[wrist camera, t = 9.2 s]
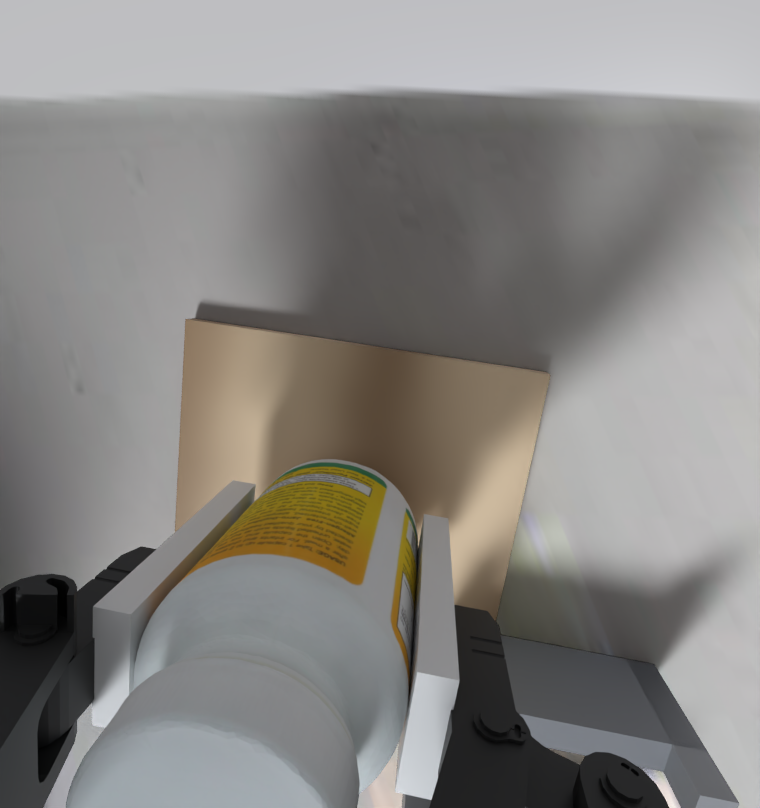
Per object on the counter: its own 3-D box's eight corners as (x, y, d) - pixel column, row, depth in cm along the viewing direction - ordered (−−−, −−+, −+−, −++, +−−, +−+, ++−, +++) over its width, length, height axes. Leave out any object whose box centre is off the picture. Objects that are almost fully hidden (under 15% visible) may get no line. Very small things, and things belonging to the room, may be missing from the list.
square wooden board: (177, 620, 19) (170, 630, 19) (194, 318, 17) (185, 319, 16) (478, 679, 18) (480, 692, 18) (546, 372, 16) (550, 375, 15)
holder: (402, 794, 20) (393, 953, 15) (435, 622, 18) (437, 740, 13) (599, 837, 19) (656, 1016, 15) (654, 664, 18) (739, 803, 13)
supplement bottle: (451, 548, 16) (485, 908, 6) (327, 632, 17) (196, 1048, 7) (346, 419, 15) (209, 601, 6) (224, 515, 16) (-56, 799, 7)
